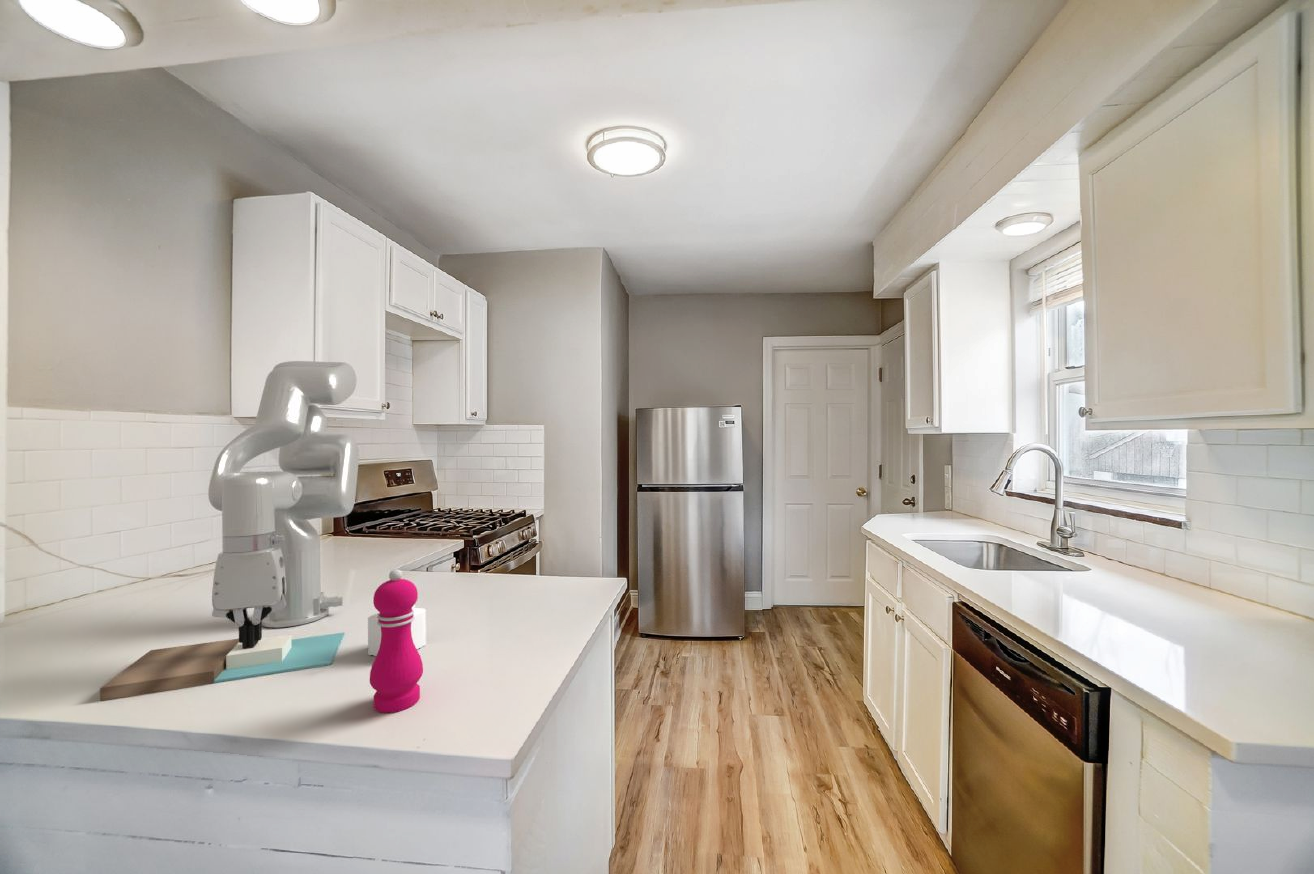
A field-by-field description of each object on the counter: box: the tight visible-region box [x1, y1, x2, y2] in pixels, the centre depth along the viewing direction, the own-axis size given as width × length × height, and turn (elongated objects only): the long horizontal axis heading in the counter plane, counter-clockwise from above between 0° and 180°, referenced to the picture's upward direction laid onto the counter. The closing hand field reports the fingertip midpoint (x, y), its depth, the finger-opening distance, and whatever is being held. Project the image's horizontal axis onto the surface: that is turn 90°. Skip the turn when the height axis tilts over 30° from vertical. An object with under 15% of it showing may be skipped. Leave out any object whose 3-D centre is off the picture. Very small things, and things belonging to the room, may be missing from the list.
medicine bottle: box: [367, 603, 427, 657], centre depth 99 cm, size 7×7×12 cm
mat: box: [210, 631, 345, 684], centre depth 97 cm, size 17×16×1 cm
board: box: [99, 638, 239, 702], centre depth 91 cm, size 14×16×2 cm
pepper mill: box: [369, 569, 424, 714], centre depth 79 cm, size 7×7×20 cm
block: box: [226, 634, 292, 670], centre depth 96 cm, size 8×7×2 cm
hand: (250, 645), depth 95 cm, fingers closed
